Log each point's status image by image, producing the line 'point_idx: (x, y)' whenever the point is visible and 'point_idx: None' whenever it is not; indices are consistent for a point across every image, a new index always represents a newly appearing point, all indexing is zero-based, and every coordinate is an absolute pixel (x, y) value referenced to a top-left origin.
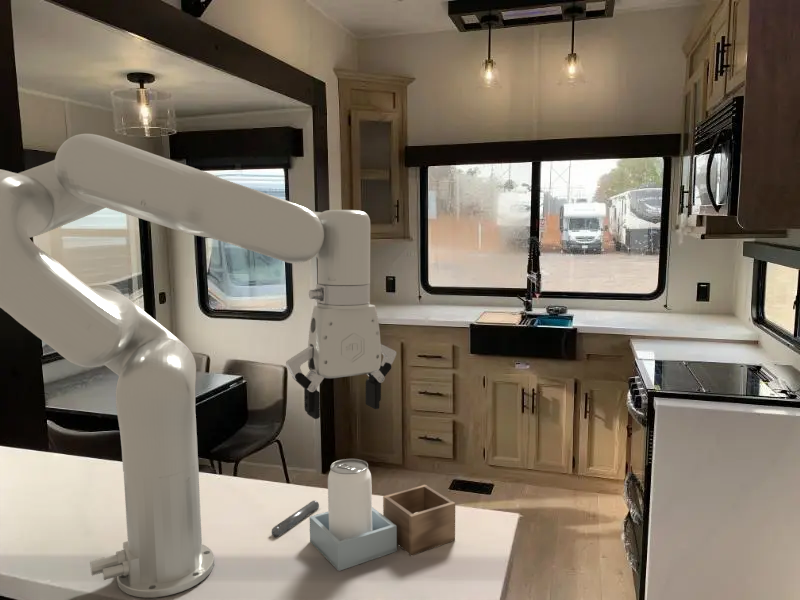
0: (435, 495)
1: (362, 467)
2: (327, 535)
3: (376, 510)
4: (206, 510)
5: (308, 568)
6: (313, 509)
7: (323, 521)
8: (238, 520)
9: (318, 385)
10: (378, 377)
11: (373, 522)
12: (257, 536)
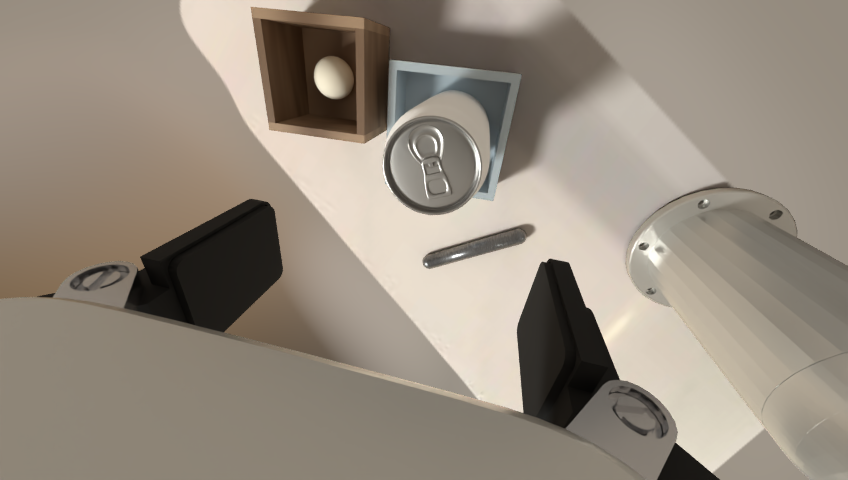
0: (271, 79)
1: (403, 146)
2: (510, 124)
3: None
4: None
5: (547, 117)
6: (437, 252)
7: None
8: None
9: (586, 408)
10: (107, 289)
11: None
12: (540, 248)
